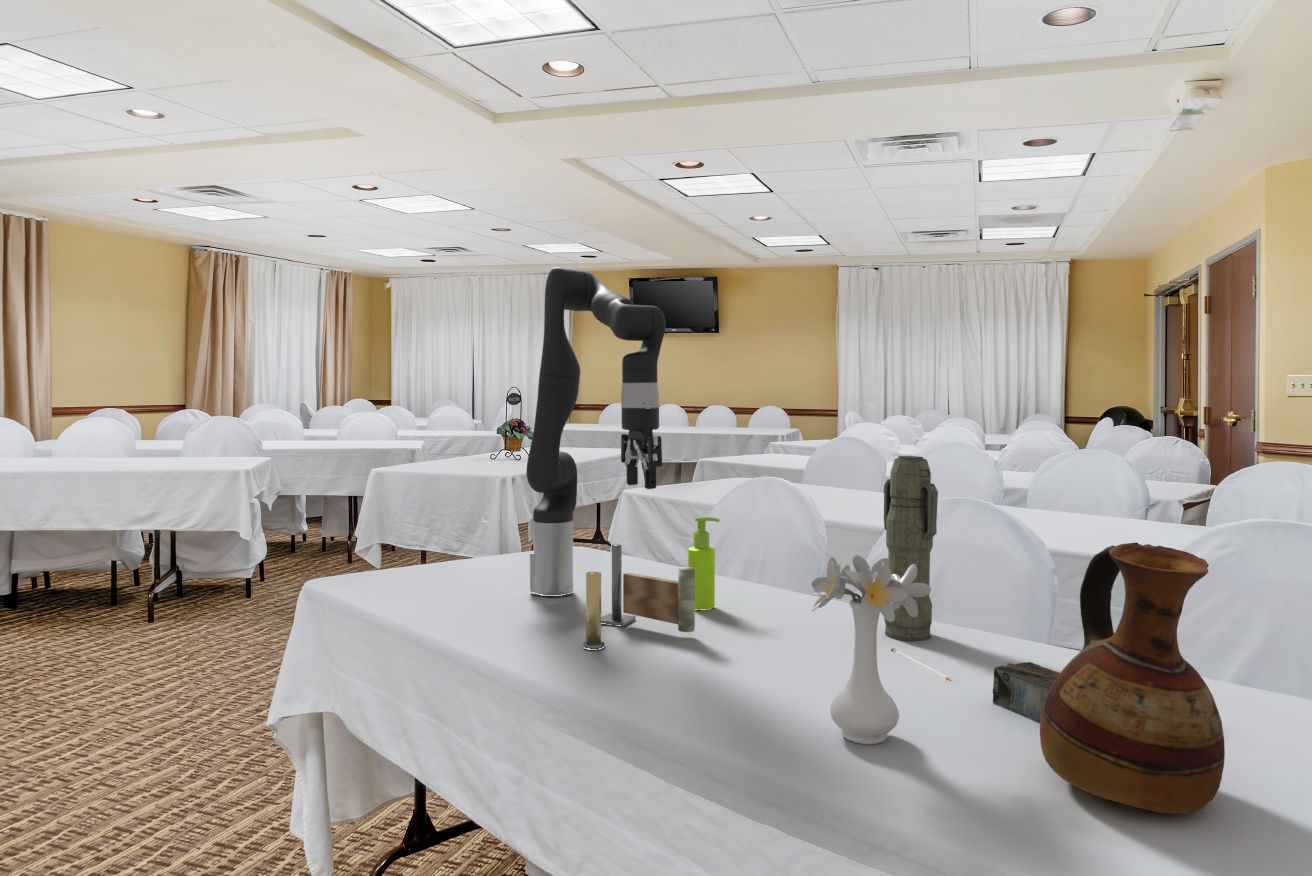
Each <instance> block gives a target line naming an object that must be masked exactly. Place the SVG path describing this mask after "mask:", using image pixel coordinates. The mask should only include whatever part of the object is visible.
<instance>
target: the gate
mask: <svg viewBox="0 0 1312 876" xmlns="http://www.w3.org/2000/svg"><path fill="white" fill-rule="evenodd" d="M677 573H678V574H677V575H678V579H677V580H672V579H668V578H661V577H655V576H649V575H643V574H639V573H638V574H637V573H633V572H626V573H623V574H622V575H623V576H622V577H623V578H622V580H623V581H622V585H623V587H622V589H623V590H622V593H623V594H622V599H623V601H622V604H623V605H622V606H623V607H622V609H623V611H622V612H623V614H626V615H631V616H636V617H640V618H641V617H642V618H646V619H650V620H656V621H660V622H663V623H664V622H665V623H671V624H675V625H677V630H678V632H681V633H692V632H695V626H696V625H695V623H696V620H695V618H696V615H695V614H696V610H695V568H693V567H688V566H681V567H678V572H677Z"/></svg>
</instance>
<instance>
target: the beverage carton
mask: <svg viewBox="0 0 1312 876" xmlns="http://www.w3.org/2000/svg"><path fill="white" fill-rule="evenodd" d="M1060 673H1061V672H1059V671H1056V670H1053V669H1049V668H1047V667H1043V666H1042V665H1039V664H1036V663H1033V662H1031V661H1027V662H1019V663H1013V662H1006V663H1004V664H1003V665H998V666H995V667H993V684H992V685H993V686H992V703H993V704H995V705H996V704H997V705H996V706H1000V707H1001V706H1002V708H1004V709H1006V710H1008V711H1011V712H1013V713H1015V714H1018V715H1020V716H1023V717H1024V716H1025V717H1024V718H1028V719H1029V718H1030V719H1029V720H1032V721H1034V722H1037V723H1040V722H1041V714H1042V710H1043V706H1044V703H1045V700H1046V698H1047V695H1048V693H1049V691H1050V689H1051V687H1052V685H1053V683H1054V681H1055V680H1056V679H1057V677H1058V676H1059V674H1060Z"/></svg>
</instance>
